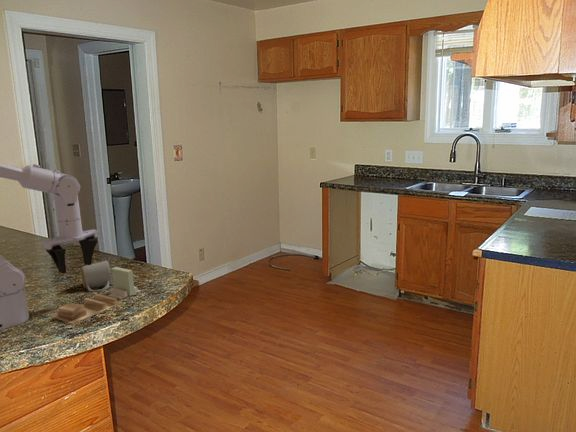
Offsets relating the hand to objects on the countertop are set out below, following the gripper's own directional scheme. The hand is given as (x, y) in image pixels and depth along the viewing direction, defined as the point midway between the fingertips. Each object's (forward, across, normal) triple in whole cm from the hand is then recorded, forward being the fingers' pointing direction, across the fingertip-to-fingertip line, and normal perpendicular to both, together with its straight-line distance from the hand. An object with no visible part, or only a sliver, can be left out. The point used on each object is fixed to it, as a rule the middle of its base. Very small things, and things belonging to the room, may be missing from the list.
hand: (75, 268), depth 127 cm
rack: (+10, -2, -7) cm, 13 cm away
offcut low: (+9, -7, -7) cm, 14 cm away
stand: (+10, +10, -6) cm, 16 cm away
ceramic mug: (+11, +11, +6) cm, 16 cm away
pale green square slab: (+9, +10, -6) cm, 15 cm away
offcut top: (+8, -7, -7) cm, 13 cm away
